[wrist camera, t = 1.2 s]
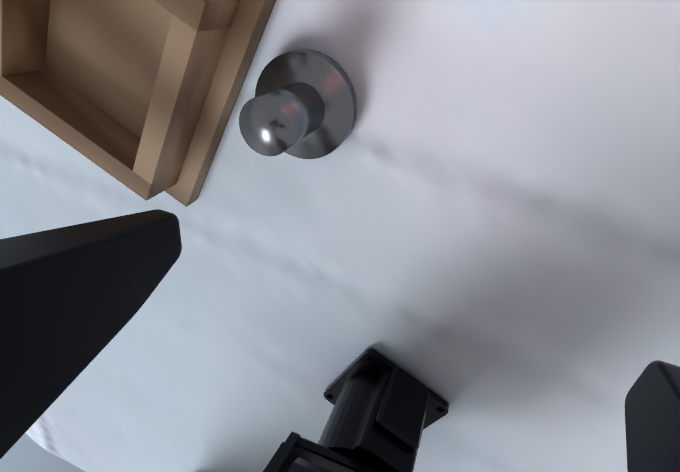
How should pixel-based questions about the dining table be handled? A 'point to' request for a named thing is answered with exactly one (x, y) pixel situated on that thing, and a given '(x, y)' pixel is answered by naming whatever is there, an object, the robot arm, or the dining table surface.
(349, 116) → the knob
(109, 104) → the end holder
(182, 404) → the dining table surface
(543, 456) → the dining table surface
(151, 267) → the robot arm
